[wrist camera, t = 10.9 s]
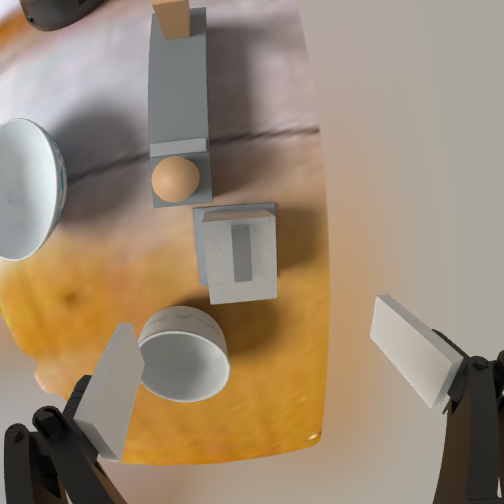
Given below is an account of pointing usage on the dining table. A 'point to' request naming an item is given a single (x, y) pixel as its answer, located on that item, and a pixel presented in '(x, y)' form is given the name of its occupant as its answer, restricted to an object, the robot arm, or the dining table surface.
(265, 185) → the dining table surface
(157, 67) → the plane
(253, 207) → the mat
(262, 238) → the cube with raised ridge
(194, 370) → the teacup
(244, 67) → the dining table surface
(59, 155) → the chinaware
